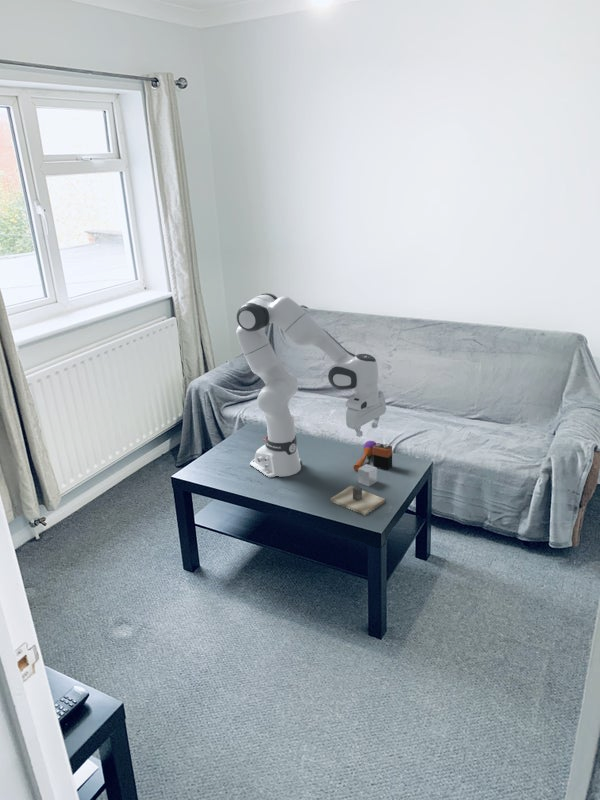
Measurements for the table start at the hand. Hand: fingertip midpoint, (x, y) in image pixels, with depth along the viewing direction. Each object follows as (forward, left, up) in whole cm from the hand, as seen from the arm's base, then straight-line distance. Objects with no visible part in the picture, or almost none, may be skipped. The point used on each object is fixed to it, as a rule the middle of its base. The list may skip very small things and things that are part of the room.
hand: (367, 431), depth 232 cm
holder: (+6, -14, -21) cm, 26 cm away
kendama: (-12, +14, -22) cm, 28 cm away
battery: (-3, +14, -22) cm, 26 cm away
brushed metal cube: (0, 0, -21) cm, 21 cm away
